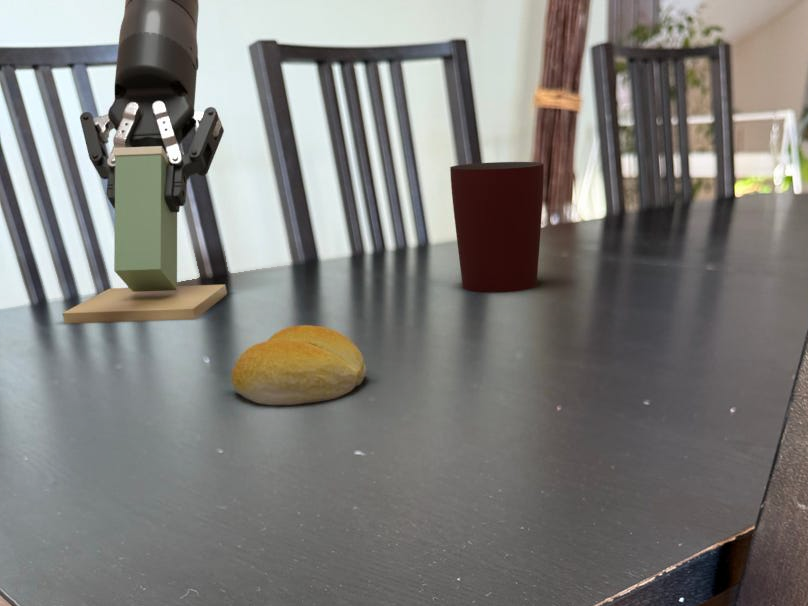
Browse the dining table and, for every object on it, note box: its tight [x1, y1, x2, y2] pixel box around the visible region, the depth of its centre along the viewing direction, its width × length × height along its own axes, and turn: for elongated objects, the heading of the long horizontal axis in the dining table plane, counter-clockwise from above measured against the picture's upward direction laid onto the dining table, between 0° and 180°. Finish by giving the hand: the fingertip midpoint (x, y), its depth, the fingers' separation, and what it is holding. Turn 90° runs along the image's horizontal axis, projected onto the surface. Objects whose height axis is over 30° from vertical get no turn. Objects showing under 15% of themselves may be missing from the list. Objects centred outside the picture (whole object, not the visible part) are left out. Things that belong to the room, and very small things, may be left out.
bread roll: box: [231, 324, 367, 406], centre depth 63 cm, size 8×9×4 cm
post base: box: [62, 284, 228, 325], centre depth 90 cm, size 12×12×1 cm
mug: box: [449, 161, 545, 294], centre depth 93 cm, size 12×9×11 cm
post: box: [113, 146, 178, 292], centre depth 90 cm, size 5×5×12 cm
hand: (145, 206), depth 90 cm, fingers closed on post, 4 cm apart
